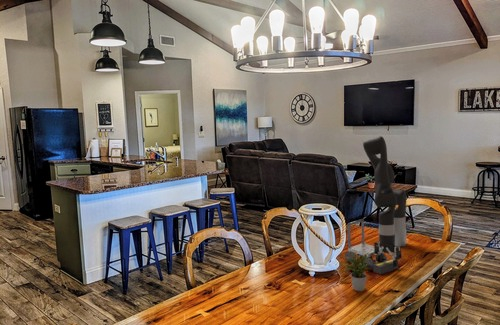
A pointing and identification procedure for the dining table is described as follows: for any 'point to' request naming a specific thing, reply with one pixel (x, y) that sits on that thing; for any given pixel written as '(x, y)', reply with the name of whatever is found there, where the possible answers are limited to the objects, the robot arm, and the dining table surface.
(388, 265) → the block
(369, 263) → the trolley
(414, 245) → the dining table surface
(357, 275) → the house plant
